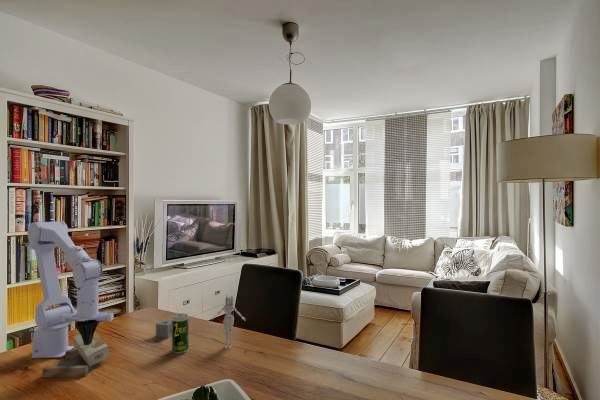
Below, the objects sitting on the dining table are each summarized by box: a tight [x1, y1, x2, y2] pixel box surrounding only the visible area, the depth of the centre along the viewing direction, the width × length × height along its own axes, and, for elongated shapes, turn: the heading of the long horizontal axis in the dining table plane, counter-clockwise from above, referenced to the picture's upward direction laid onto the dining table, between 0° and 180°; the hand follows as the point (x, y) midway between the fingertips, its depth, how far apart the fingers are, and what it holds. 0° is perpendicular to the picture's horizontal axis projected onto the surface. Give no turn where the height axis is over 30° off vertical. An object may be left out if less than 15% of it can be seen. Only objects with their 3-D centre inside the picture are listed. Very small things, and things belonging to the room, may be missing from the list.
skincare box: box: [72, 331, 111, 367], centre depth 117 cm, size 6×4×12 cm
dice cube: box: [155, 319, 172, 339], centre depth 138 cm, size 5×5×5 cm
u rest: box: [42, 349, 102, 378], centre depth 113 cm, size 12×13×2 cm
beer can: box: [171, 313, 190, 355], centre depth 125 cm, size 5×5×12 cm
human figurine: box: [212, 294, 246, 349], centre depth 129 cm, size 12×4×18 cm, turn 83°
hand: (88, 344), depth 113 cm, fingers closed
